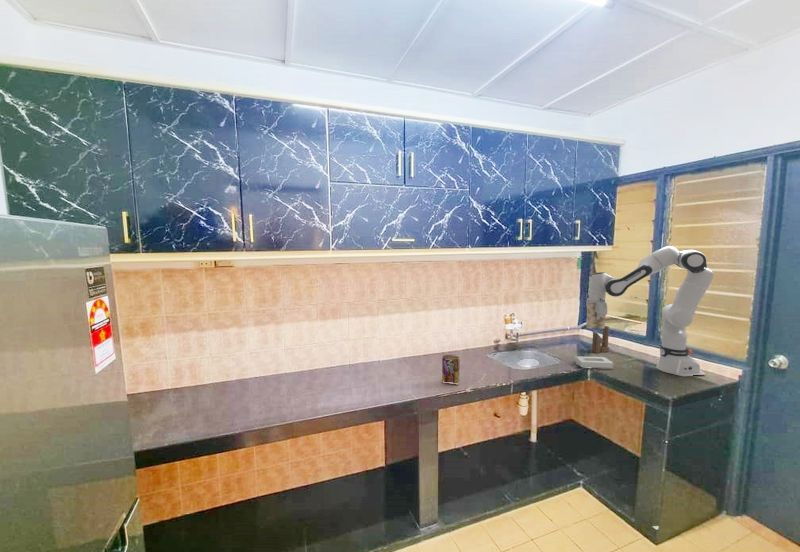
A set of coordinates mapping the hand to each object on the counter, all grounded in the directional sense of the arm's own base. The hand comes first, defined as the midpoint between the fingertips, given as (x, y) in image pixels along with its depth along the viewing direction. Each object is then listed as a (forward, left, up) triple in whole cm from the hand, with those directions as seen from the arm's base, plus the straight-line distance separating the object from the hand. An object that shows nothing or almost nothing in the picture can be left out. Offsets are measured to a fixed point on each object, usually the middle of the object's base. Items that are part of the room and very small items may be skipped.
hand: (595, 318), depth 215 cm
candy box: (+95, +46, -27) cm, 109 cm away
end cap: (+6, +13, -27) cm, 30 cm away
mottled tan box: (0, 0, -6) cm, 6 cm away
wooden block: (-11, -14, -27) cm, 32 cm away
